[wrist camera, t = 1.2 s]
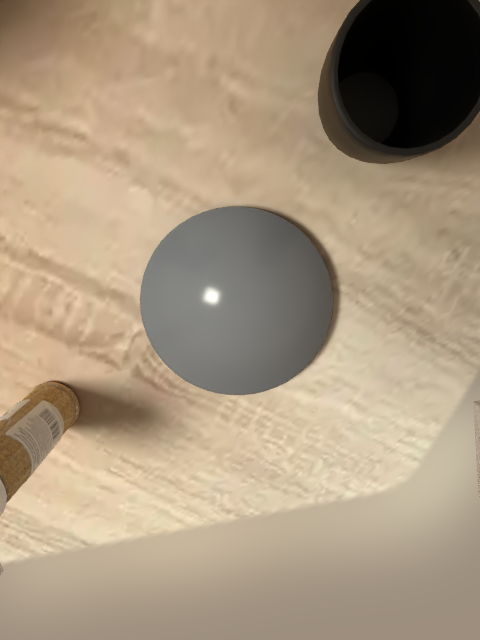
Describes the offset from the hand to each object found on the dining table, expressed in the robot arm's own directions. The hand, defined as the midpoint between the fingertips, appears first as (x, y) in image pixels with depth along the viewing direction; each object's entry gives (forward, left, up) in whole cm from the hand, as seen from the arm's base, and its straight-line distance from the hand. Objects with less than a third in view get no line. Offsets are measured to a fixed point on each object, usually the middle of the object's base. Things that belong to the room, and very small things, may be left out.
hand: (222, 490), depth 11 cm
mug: (+3, +18, -24) cm, 30 cm away
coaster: (0, 0, -23) cm, 23 cm away
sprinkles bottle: (-10, -15, -24) cm, 30 cm away
